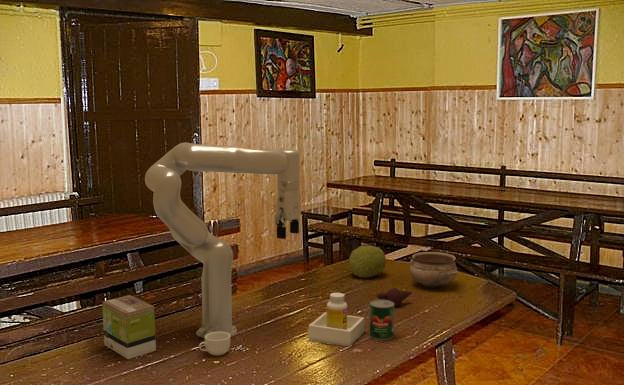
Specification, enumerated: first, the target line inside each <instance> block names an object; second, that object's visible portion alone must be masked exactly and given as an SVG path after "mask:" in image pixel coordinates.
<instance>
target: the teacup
mask: <svg viewBox="0 0 624 385" xmlns="http://www.w3.org/2000/svg"><path fill="white" fill-rule="evenodd" d="M202 345H204V346H205V348H202V347H201V346H202ZM230 347H231V337H230V334H229V333H227V332H221V331H218V332H211V333H208V334H206V335H205V338H204V341H202V342H200V343H199V345H198V348H199V349H200V351H203V352H207V353H208V354H210V355H211V356H222V355H225V354H226V353H227V352H228V351H229V350H230Z"/></svg>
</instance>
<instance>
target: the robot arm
mask: <svg viewBox="0 0 624 385" xmlns="http://www.w3.org/2000/svg"><path fill="white" fill-rule="evenodd" d="M300 156H301V155H300V151H299V150H297V149H294V148H293V149H291V148H287V149H286V148H283V149H279V150H278V149H269V148H268V149H267V148H263V149H259V150H258V149H249V148H244V147H240V146H233V145H217V144H204V143H203V144H202V143H201V144H200V143H192V142H181V143H178V144H177V145H176V146H174V147H173V148H171V149H170V150H169V151H168V152H166V153H165V155H163V156H162V157H161V158H160V159H159V160H157V161H155V162H154V163H153V165H151V166H150V167H149V168H148V170H147V171H146V172H145V175H144V182H145V185H146V187H147V188H148V190H150V191H152V192H153V194H152V195H153V196H152V202H153V203H152V204H153V208H154V212H155V214H156V215H157V217H158V218H159V219H160V221H161V222H163V223H164V225H165V226H166V227H167V228H169V232H170V235H171V237H172V238H173V239H174V240H175V241H176V242H177V243H179V245H180V246H182V247H183V249H185V250H186V251H187V252H188V253H189V254H190V255H191V256H192V257H193V258H194V259H196V260H197V261H199V262H201V263H202V265H203V267H202V273H201V304H202V306H201V308H202V309H201V310H202V311H201V312H202V313H201V314H202V323H201V327H199V329H198V330H197V331H196V332H195V335H196V336H197V337H200V338H202V339H205V335H206V334H208V333H211V332H218V331H221V332H227V333H229V334H230V338H231V337H234V336H235V335H237V332H238V329H237V327H236V326H235V325H233V318H232V317H233V314H232V312H233V310H232V309H233V307H232V305H233V304H232V300H233V298H232V269H233V262H234V252H233V249H232V247H231V245H230V244H229V243H228V242H227V241H225V240H223V239H221V238H220V237H218V236H216V235H213V233H211V232H210V231H209V230H208V227H207V224H206V223H205V222H204V220H203V219H201V218H199V217H198V216H197V215H196V214H195V212H193V211H192V210H191V209H189V207H188V206H187V205H186V204H185V203H184V202H183V201H182V198H181V189H182V179H181V175H183V174H184V173H185V172H186V171H190V172H191V171H192V172H206V173H207V172H208V173H209V172H211V173H212V172H213V173H230V174H231V173H232V174H255V175H256V174H257V175H277V177H276V179H277V180H276V183H277V184H276V185H277V188H276V189H277V190H276V191H277V195H276V196H277V197H276V198H277V199H276V212H275V214H274V220H275V221H274V222H275V227H276V238H277V239H281V240H285V239H286V238H287V227H286V224H287V221H288V222H289V233H290V234H295V235H296V234H299V233H300V220H301V219H300V217H301V216H302V202H301V192H300V182H301V181H300V177H301V176H300V173H301V172H300V169H301V166H300V165H301V163H300V162H301V158H300Z"/></svg>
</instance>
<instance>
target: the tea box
mask: <svg viewBox="0 0 624 385" xmlns="http://www.w3.org/2000/svg"><path fill="white" fill-rule="evenodd" d="M101 303H102V304H101V305H102V309H101V310H102V322H103V324H102V326H103V339H104V340H103V342H104V346H105V347H107V348H108V349H111V350H112V351H114V352H116V353H117V354H119V355H120V356H122V357H123V358H125V359H127V360H131V359H134V358H137V357H140V356H143V355H147V354H149V353H153V352H156V350H157V346H156V345H157V342H156V320H155V319H156V318H155V316H156V315H155V314H156V313H155V306H154V305H152V304H150V303H148V302H147V301H144V300H141V299H139V298H137V297H135V296H133V295H131V294H127V295H124V296H120V297H117V298H112V299H109V300H104V301H102V302H101Z"/></svg>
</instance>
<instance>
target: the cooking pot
mask: <svg viewBox="0 0 624 385" xmlns="http://www.w3.org/2000/svg"><path fill="white" fill-rule="evenodd" d="M411 257H412V258H411V259H410V266H409V272H410V274H411V277H412V279H414V280H415V281H416V282H417V283H418V284H420V285H422V286H424V287H425V288H427V289H433V288H436V289H440V287H441V288H442V287H444V286H446V285H448V284H450V283H452V282H453V281H454V280H455V279H456V277H457V275H458V274H459V271H458V268H457V264H456V263H457V262H456V261H455V260H456V259H457V258H456V256H455V255H453V254H450V253H445V252H437V251H422V252H417V253H414V254H412V255H411Z"/></svg>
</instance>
